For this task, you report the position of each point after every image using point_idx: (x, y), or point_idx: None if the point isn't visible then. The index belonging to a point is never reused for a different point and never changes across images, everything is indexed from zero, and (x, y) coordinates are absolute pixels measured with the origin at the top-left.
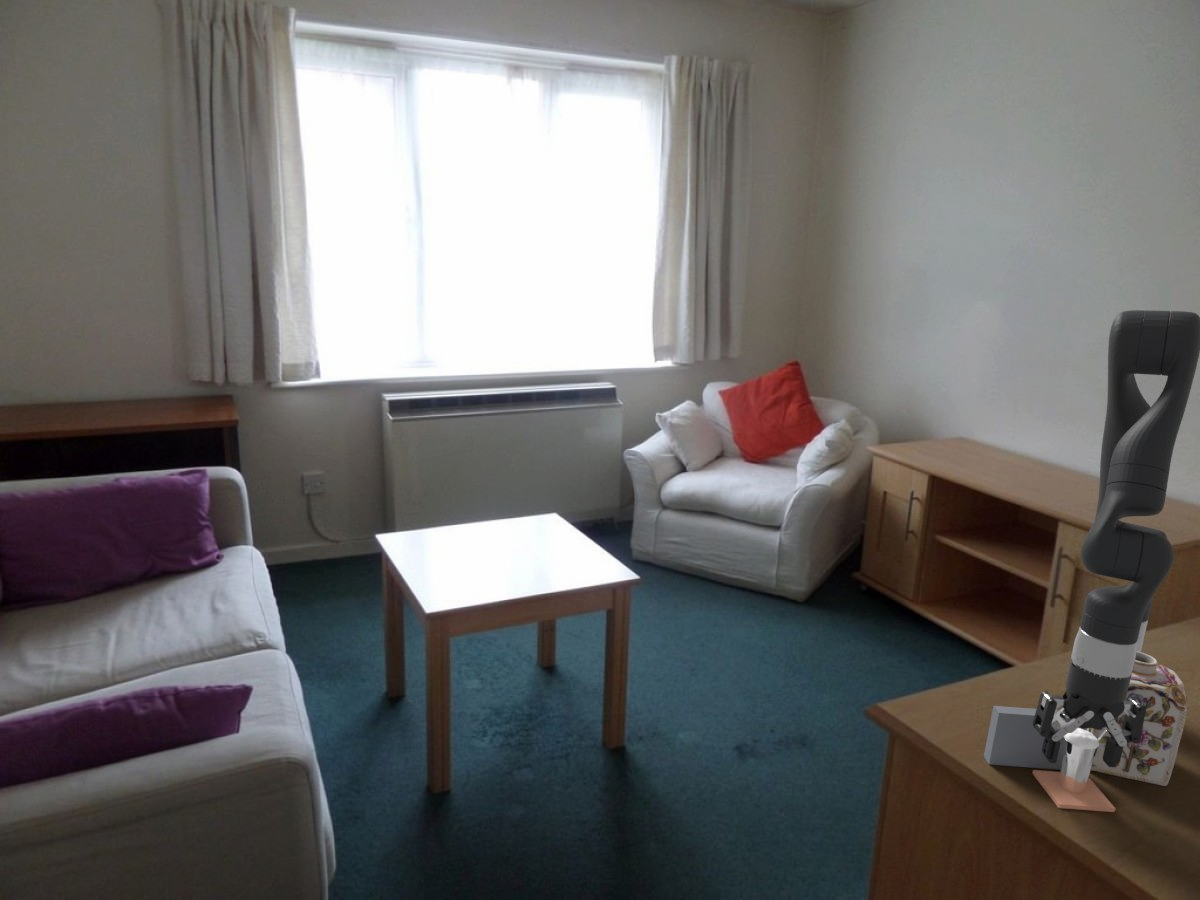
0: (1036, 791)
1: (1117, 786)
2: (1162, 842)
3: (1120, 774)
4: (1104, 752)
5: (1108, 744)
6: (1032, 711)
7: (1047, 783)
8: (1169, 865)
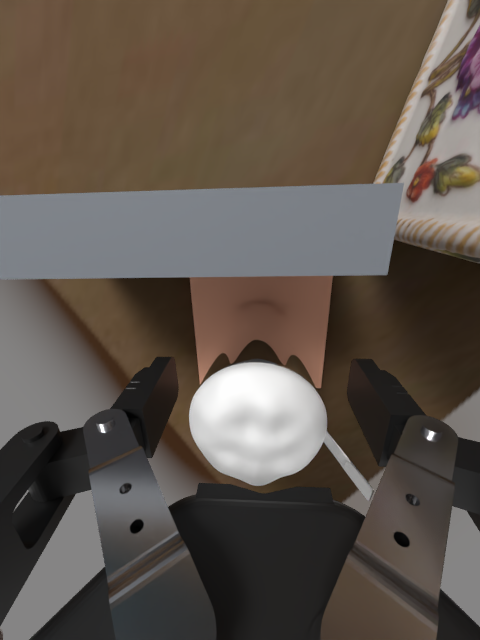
0: (175, 334)
1: (397, 291)
2: (356, 447)
3: (442, 253)
4: (361, 375)
5: (377, 412)
6: (82, 230)
7: (204, 320)
8: (325, 487)
